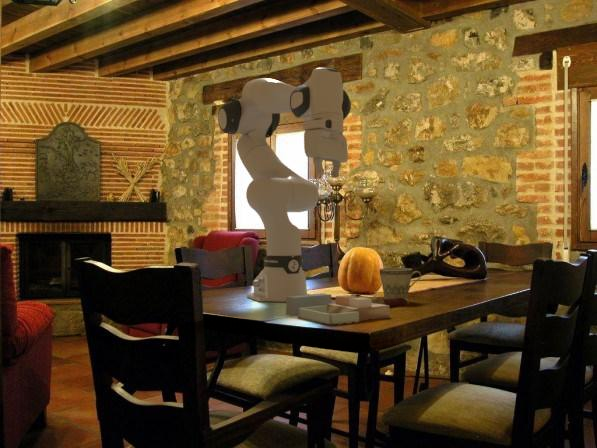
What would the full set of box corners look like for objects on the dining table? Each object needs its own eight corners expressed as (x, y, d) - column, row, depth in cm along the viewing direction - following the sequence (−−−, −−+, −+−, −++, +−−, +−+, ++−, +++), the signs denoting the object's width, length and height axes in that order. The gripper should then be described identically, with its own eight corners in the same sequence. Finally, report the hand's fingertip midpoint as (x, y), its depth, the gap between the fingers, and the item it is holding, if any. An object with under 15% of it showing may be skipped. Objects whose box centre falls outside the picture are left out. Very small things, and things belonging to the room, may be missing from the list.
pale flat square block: (327, 315, 160) (327, 304, 160) (360, 312, 166) (360, 300, 166) (355, 321, 150) (355, 309, 150) (389, 317, 156) (389, 305, 156)
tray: (297, 317, 157) (297, 308, 157) (325, 315, 161) (325, 305, 161) (330, 325, 144) (330, 314, 144) (358, 322, 149) (358, 311, 149)
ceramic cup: (383, 303, 183) (383, 270, 183) (376, 299, 193) (376, 268, 193) (426, 302, 185) (425, 269, 185) (416, 298, 194) (416, 267, 194)
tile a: (335, 303, 161) (335, 296, 161) (348, 302, 163) (347, 295, 163) (344, 305, 157) (344, 297, 157) (357, 304, 159) (357, 296, 159)
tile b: (349, 306, 155) (349, 298, 155) (361, 305, 158) (361, 297, 158) (359, 307, 152) (359, 299, 152) (371, 306, 154) (371, 298, 154)
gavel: (396, 293, 186) (422, 295, 178) (395, 308, 186) (422, 311, 178) (347, 293, 172) (373, 296, 165) (346, 310, 172) (373, 314, 165)
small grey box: (294, 316, 160) (293, 297, 160) (286, 315, 164) (286, 296, 164) (331, 312, 167) (331, 294, 167) (323, 311, 170) (323, 293, 170)
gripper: (333, 132, 179) (333, 179, 179) (299, 122, 161) (300, 174, 161) (353, 130, 176) (353, 178, 176) (321, 119, 158) (321, 173, 158)
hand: (327, 176), depth 168 cm, fingers open, 8 cm apart
